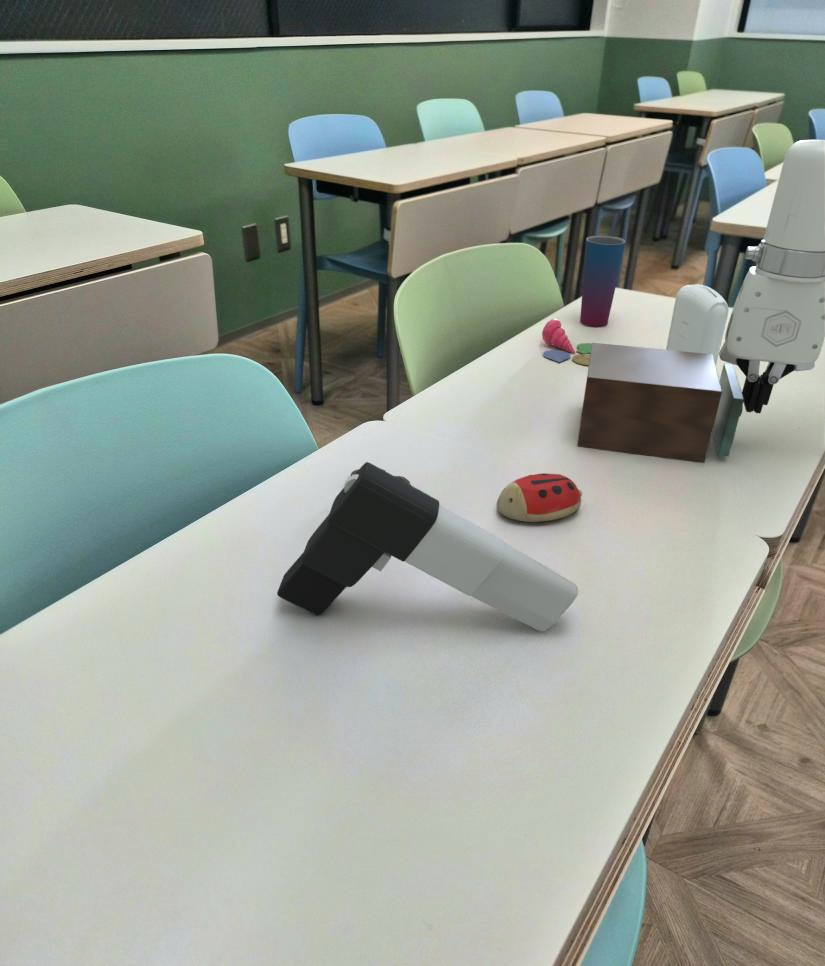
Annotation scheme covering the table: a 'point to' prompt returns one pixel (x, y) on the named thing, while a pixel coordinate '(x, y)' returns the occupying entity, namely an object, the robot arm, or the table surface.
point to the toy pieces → (563, 344)
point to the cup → (600, 278)
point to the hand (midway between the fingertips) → (751, 408)
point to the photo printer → (698, 321)
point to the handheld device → (419, 552)
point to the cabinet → (649, 402)
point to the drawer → (728, 410)
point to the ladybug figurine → (539, 498)
